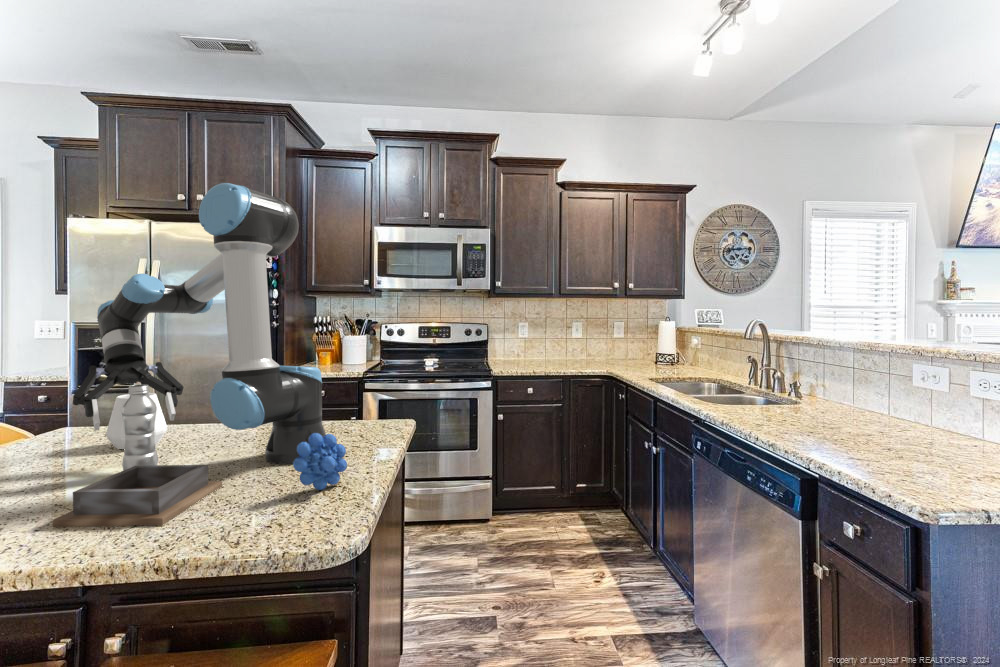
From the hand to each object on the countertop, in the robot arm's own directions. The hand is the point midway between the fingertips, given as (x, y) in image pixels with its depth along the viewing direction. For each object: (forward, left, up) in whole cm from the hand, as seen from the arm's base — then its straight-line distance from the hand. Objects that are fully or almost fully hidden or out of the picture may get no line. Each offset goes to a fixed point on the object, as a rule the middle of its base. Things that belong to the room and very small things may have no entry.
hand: (136, 421), depth 105 cm
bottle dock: (-15, +18, -12) cm, 26 cm away
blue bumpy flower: (-46, +12, -12) cm, 49 cm away
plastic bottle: (-1, 0, -12) cm, 12 cm away
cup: (+17, -24, -12) cm, 32 cm away
